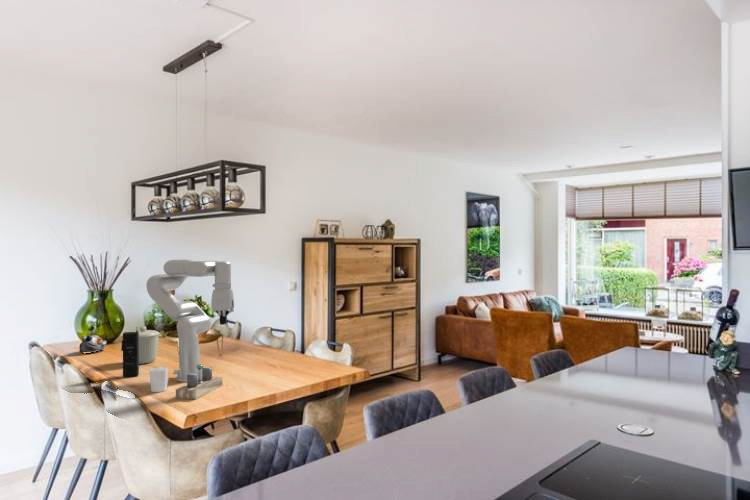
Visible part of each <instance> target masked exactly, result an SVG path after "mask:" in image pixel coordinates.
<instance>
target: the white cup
mask: <svg viewBox="0 0 750 500" xmlns="http://www.w3.org/2000/svg"><path fill="white" fill-rule="evenodd" d="M168 378H169V367H166V366H159V367H158V366H157V367H153V368H150V369H149V381H150V391H151V392H152V393H162V392H165V391H167V389H168V381H169V379H168Z"/></svg>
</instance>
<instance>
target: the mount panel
mask: <svg viewBox="0 0 750 500" xmlns="http://www.w3.org/2000/svg"><path fill="white" fill-rule="evenodd" d="M202 381H203V383H202V384H198V385H197V386H195V387H194V388H191V387H187V383H185V384H184V385H181V386H179V387H177V388H175V399H180V400H181V399H182V400H183V399H184V400H198V399H200V398H202V397H204V396H205V395H208V394H209V393H212V392H213V391H215V390H216V389H218V388H220V387H223V377H222V376H212V379H209V380H203V379H202Z"/></svg>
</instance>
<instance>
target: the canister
mask: <svg viewBox="0 0 750 500" xmlns="http://www.w3.org/2000/svg"><path fill="white" fill-rule="evenodd" d="M136 331H138V332H139V365H146V364H145V363H147V364H151V363H153V362H155V361H156V359H157V353H158V347H159V338H160V337H159V336H160V334H161V332H159V331H157V330H153V329H147V327H146V326H145V325H143V326H142V325H141V326H140V327H139V330H134V331H133V332H136ZM150 362H151V363H150Z"/></svg>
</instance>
